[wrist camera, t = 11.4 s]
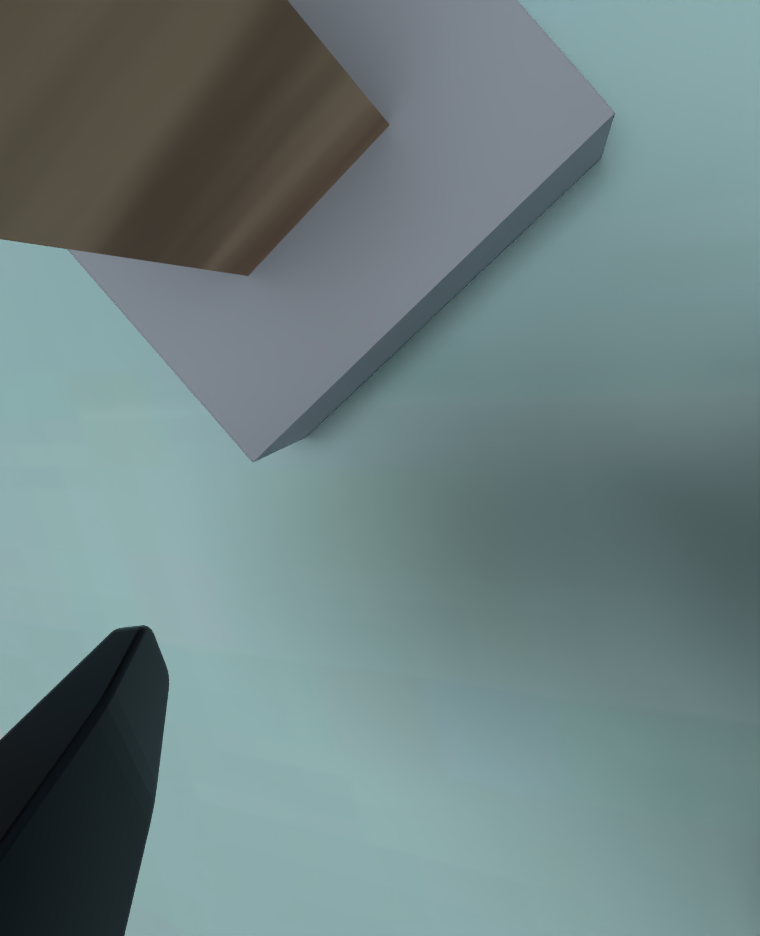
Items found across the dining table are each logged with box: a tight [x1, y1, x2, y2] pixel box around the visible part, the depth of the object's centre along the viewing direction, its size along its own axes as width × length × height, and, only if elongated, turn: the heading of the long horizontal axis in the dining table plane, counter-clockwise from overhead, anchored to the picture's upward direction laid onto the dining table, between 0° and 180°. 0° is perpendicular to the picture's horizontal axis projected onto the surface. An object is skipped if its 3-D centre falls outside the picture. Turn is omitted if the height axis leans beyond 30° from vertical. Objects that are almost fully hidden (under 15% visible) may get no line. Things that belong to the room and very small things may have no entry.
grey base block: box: [67, 0, 615, 462], centre depth 18 cm, size 12×12×4 cm
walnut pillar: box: [0, 0, 389, 276], centre depth 10 cm, size 5×5×13 cm
